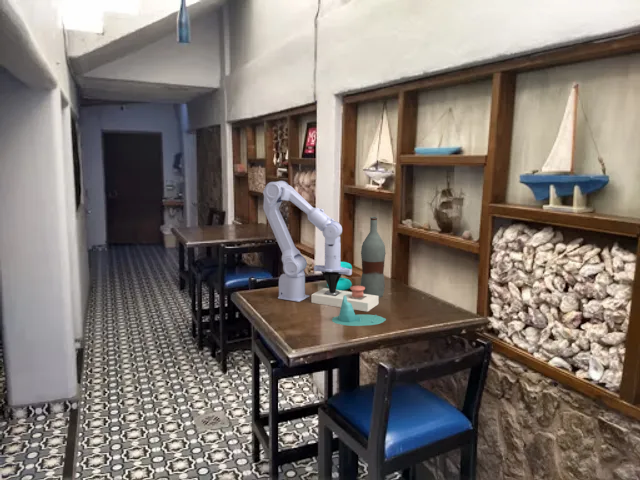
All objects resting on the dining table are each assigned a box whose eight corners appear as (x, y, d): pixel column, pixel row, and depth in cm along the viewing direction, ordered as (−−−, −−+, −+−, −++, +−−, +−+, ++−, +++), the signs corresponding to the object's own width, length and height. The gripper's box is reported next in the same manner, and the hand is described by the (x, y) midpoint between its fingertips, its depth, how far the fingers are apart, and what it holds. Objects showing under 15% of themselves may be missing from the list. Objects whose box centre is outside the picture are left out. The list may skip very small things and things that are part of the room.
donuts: (353, 261, 197) (349, 266, 187) (353, 285, 198) (349, 291, 189) (329, 260, 199) (324, 265, 189) (329, 283, 201) (324, 290, 191)
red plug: (347, 296, 170) (347, 288, 169) (353, 293, 174) (354, 284, 174) (361, 298, 168) (361, 290, 167) (367, 295, 172) (367, 286, 171)
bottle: (380, 300, 178) (382, 219, 173) (357, 297, 181) (358, 218, 176) (387, 293, 186) (389, 216, 181) (364, 291, 190) (365, 215, 185)
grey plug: (322, 301, 175) (322, 292, 175) (329, 297, 180) (329, 289, 179) (335, 303, 173) (335, 294, 172) (341, 299, 177) (342, 291, 177)
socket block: (311, 302, 175) (311, 294, 174) (324, 295, 183) (324, 288, 183) (367, 311, 164) (367, 303, 164) (378, 303, 173) (378, 295, 173)
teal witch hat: (393, 326, 151) (394, 300, 150) (330, 328, 150) (330, 301, 148) (386, 314, 163) (386, 289, 161) (327, 315, 162) (327, 290, 160)
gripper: (309, 255, 173) (309, 292, 176) (346, 259, 166) (345, 297, 169) (319, 252, 179) (319, 287, 182) (354, 256, 173) (354, 292, 175)
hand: (332, 292), depth 176 cm, fingers closed, pressing on grey plug
